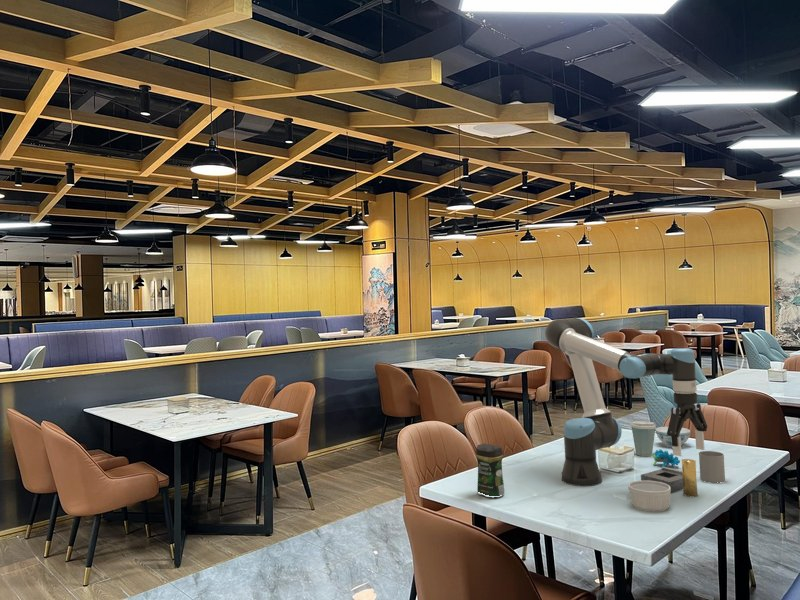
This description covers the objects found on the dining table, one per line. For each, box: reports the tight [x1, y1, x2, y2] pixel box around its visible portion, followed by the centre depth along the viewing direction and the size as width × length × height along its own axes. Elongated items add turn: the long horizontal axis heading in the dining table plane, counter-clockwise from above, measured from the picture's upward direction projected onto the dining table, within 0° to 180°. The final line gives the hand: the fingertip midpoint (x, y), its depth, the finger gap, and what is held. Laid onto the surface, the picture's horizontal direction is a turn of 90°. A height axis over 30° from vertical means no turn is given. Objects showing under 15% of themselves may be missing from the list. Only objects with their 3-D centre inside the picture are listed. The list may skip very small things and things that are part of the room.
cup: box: [698, 450, 726, 484], centre depth 221 cm, size 8×8×10 cm
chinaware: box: [655, 426, 691, 448], centre depth 275 cm, size 15×15×8 cm
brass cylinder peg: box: [681, 458, 698, 498], centre depth 205 cm, size 4×4×12 cm
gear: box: [652, 449, 681, 467], centre depth 241 cm, size 11×6×10 cm
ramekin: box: [627, 480, 671, 513], centre depth 195 cm, size 13×13×7 cm
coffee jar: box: [475, 443, 505, 496], centre depth 214 cm, size 10×8×19 cm
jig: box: [640, 466, 683, 494], centre depth 216 cm, size 14×12×5 cm
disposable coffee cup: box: [630, 420, 657, 458], centre depth 261 cm, size 11×11×15 cm
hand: (689, 452), depth 205 cm, fingers open, 13 cm apart
